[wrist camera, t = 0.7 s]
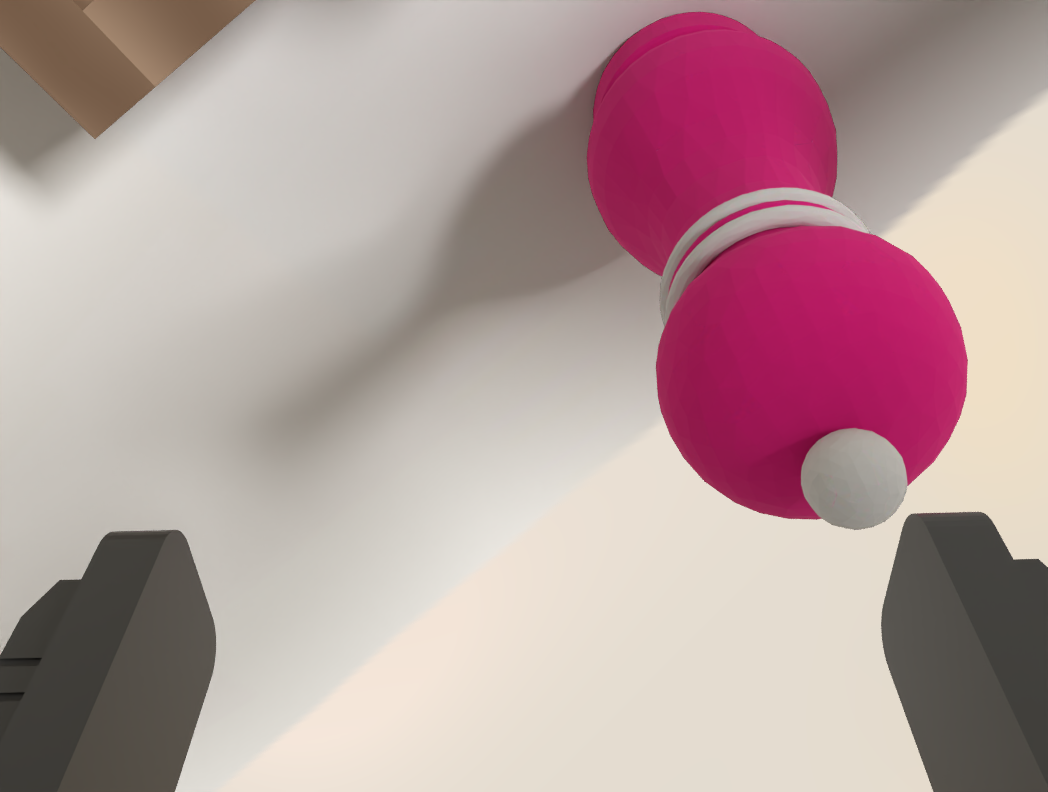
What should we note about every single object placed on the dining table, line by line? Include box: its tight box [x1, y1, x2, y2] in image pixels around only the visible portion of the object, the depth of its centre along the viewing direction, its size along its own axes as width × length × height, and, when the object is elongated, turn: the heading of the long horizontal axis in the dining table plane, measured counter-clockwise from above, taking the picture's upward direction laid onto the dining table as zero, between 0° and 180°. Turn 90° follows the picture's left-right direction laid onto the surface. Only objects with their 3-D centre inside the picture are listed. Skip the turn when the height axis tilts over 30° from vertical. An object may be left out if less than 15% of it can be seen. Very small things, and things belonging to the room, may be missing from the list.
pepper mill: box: [587, 12, 968, 530], centre depth 25 cm, size 7×7×20 cm
